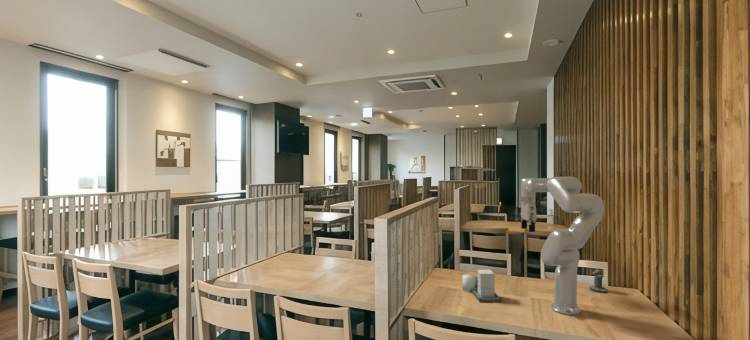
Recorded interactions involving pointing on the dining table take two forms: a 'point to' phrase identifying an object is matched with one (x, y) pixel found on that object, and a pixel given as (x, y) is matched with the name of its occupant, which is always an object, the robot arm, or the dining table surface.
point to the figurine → (597, 283)
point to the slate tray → (485, 299)
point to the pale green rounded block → (468, 282)
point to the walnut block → (476, 282)
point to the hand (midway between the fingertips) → (528, 230)
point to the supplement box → (486, 283)
